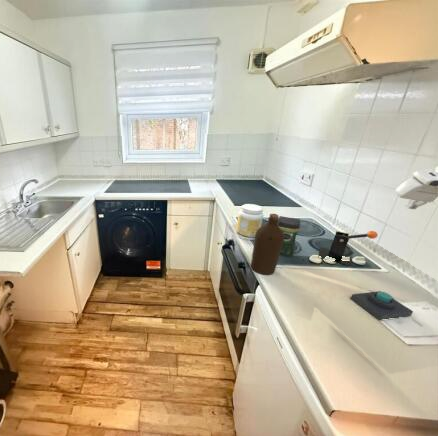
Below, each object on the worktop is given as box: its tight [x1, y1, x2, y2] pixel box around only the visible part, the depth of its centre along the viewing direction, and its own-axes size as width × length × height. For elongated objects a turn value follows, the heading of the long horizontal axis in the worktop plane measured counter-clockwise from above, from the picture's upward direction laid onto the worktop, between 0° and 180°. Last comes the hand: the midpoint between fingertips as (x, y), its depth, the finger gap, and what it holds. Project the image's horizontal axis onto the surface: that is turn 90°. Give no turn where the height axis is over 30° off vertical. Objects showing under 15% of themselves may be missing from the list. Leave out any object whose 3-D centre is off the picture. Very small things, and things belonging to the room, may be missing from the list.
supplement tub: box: [235, 203, 264, 241], centre depth 128 cm, size 12×12×17 cm
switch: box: [342, 230, 378, 240], centre depth 101 cm, size 13×3×3 cm, turn 54°
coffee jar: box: [277, 215, 301, 258], centre depth 110 cm, size 10×8×19 cm
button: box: [376, 290, 393, 303], centre depth 79 cm, size 4×4×2 cm
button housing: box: [349, 290, 414, 321], centre depth 80 cm, size 12×10×4 cm
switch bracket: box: [318, 230, 353, 267], centre depth 106 cm, size 12×9×13 cm
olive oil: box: [250, 213, 284, 276], centre depth 97 cm, size 11×11×25 cm
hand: (409, 208), depth 94 cm, fingers closed
